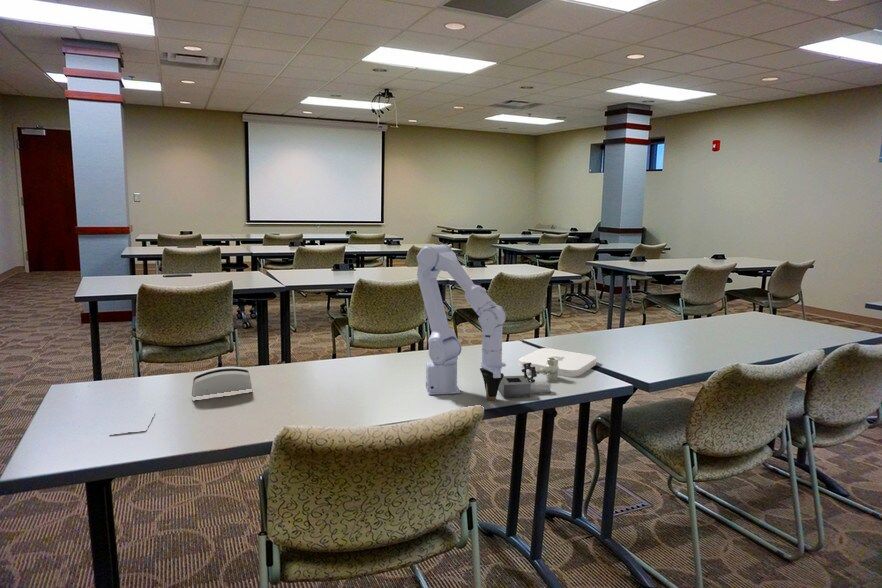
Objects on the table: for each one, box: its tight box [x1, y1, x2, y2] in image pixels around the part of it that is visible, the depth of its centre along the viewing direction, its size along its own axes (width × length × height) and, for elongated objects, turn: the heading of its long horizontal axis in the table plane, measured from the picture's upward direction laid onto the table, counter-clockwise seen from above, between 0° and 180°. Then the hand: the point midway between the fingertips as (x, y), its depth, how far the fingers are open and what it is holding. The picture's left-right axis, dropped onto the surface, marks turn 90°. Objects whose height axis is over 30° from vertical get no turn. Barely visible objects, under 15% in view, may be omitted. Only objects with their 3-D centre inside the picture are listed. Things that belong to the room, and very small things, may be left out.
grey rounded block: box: [191, 366, 253, 397], centre depth 162 cm, size 17×5×10 cm, turn 117°
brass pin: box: [485, 383, 497, 402], centre depth 159 cm, size 3×3×6 cm
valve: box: [521, 357, 559, 383], centre depth 177 cm, size 7×7×12 cm
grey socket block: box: [498, 375, 552, 399], centre depth 166 cm, size 15×8×4 cm, turn 97°
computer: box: [518, 347, 597, 378], centre depth 195 cm, size 22×22×3 cm
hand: (491, 394), depth 159 cm, fingers closed on brass pin, 3 cm apart
